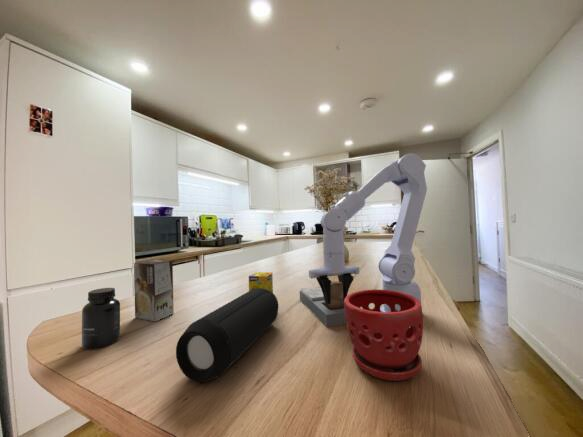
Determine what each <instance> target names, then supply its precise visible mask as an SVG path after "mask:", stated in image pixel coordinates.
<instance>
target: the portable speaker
mask: <svg viewBox="0 0 583 437" xmlns="http://www.w3.org/2000/svg"><path fill="white" fill-rule="evenodd" d="M278 312H279V301H278V298H277V296H276V294H275V293H274V292H273V293H272V292H271V291H270V290H267V289H263V288H255V289H252V290H250V291H249V290H248V291H247V292H245V293H243V294H242V295H241V294H240V296H238V297H237V298H236V297H235V298H234V299H233V300H231V301H229V302H227V303H225V304H223V305H222V306H220V307H218V308H217V309H214V310H213V311H211V312H210V313H208V314H206V315H204V316H203V317H200V318H198V319H197V320H195V321H193V322H192V323H190V324H189V326H188V327H187V328H186V329H185V330H184V331H183V333H182V334H181V335H180V337H179V339H178V341H177V342H176V348H175V355H176V356H175V357H176V362H177V364H178V367H179V369H180V371H181V373H183V375H184V376H185V377H187V378H188V379H189V380H191V381H192V382H195V383H203V382H208V381H209V380H213V379H215V378H218V377H220V376H221V375H222V374H223V373H224V372H225V371H226V370H228V368H230V367H231V366H232V364H233V363H234V362H235V361H236V360H238V359H239V358H240V356H242V355H243V353H245V351H247V349H248V348H249V347H251V345H252V344H254V342H256V340H258V339H259V337H261V335H262V334H264V333H265V331H267V329H269V327H270V326H271V325H273V323H274V322H275V320H277V316H278V314H279V313H278Z"/></svg>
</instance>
